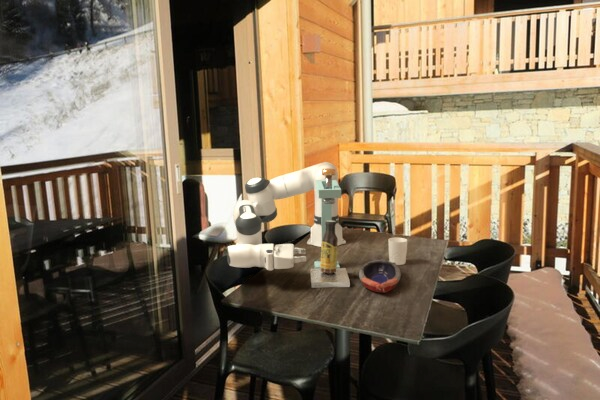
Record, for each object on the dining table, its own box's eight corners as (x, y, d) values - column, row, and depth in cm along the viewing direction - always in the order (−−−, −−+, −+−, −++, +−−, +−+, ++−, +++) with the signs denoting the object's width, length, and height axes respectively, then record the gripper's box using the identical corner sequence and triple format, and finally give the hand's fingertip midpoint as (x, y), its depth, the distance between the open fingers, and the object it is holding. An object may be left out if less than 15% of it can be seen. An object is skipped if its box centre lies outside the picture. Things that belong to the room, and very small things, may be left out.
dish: (401, 270, 201) (401, 258, 200) (399, 298, 172) (400, 285, 171) (362, 268, 204) (362, 256, 203) (354, 296, 175) (354, 282, 174)
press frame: (314, 264, 210) (313, 179, 204) (338, 263, 210) (337, 179, 204) (316, 286, 184) (315, 190, 177) (344, 286, 184) (344, 189, 177)
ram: (321, 201, 188) (321, 168, 186) (335, 201, 188) (334, 168, 186) (322, 204, 183) (322, 170, 181) (336, 203, 183) (336, 169, 181)
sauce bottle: (316, 271, 193) (317, 220, 192) (329, 269, 197) (330, 219, 196) (328, 274, 188) (329, 221, 187) (340, 272, 192) (341, 221, 191)
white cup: (386, 264, 208) (387, 241, 206) (389, 259, 215) (389, 236, 214) (406, 266, 206) (406, 242, 204) (407, 260, 213) (408, 238, 211)
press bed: (310, 273, 199) (310, 268, 198) (345, 272, 199) (345, 268, 198) (311, 287, 183) (311, 282, 183) (349, 287, 183) (349, 281, 183)
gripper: (270, 255, 199) (305, 255, 199) (268, 272, 179) (306, 271, 179) (270, 240, 198) (305, 239, 198) (267, 255, 178) (306, 254, 178)
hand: (306, 254), depth 188 cm, fingers open, 8 cm apart
